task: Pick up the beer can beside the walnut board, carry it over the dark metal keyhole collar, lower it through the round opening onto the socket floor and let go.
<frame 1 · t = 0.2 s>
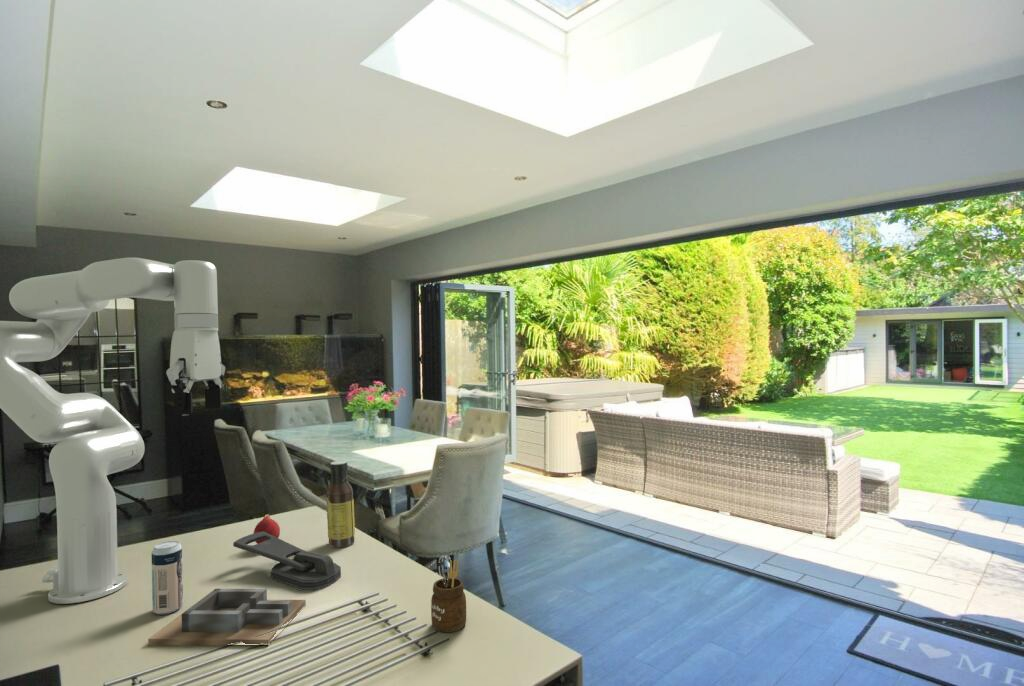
hand: (199, 410, 110), 36 cm above the table, tool pointing down, fingers open, 9 cm apart
zipper pull: (287, 575, 118), on the table
utensil holder: (449, 626, 95), on the table
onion: (267, 549, 134), on the table
sauce bottle: (341, 544, 136), on the table
beer can: (168, 611, 103), on the table
keyhole board: (232, 623, 97), on the table
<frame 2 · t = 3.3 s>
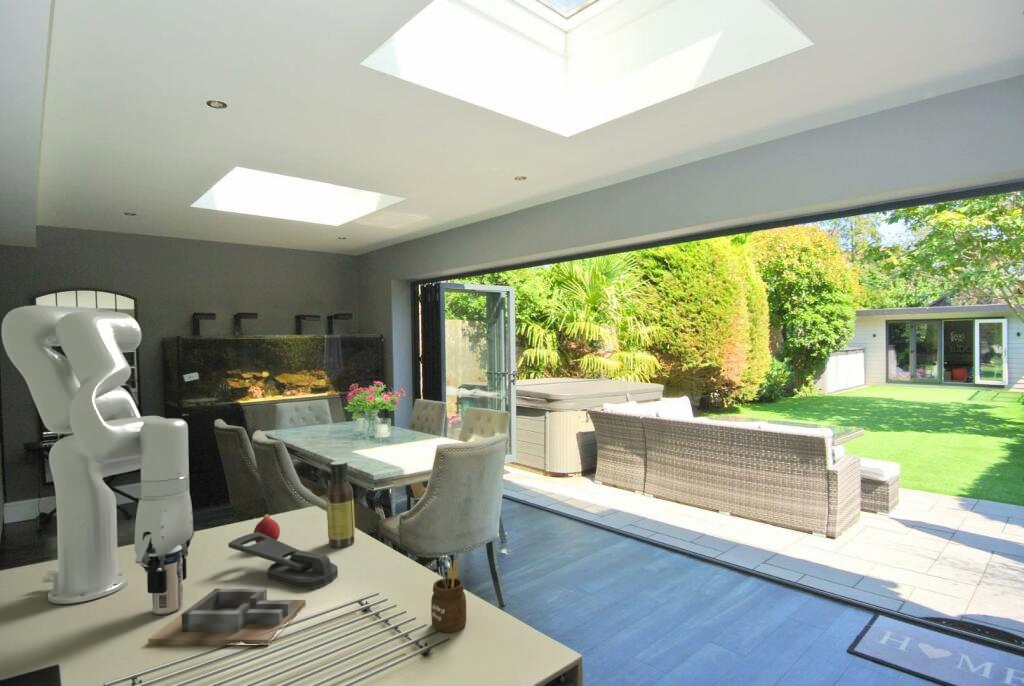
hand: (167, 584, 103), 5 cm above the table, tool pointing down, fingers closed on beer can, 4 cm apart
beer can: (168, 611, 103), on the table, touching gripper
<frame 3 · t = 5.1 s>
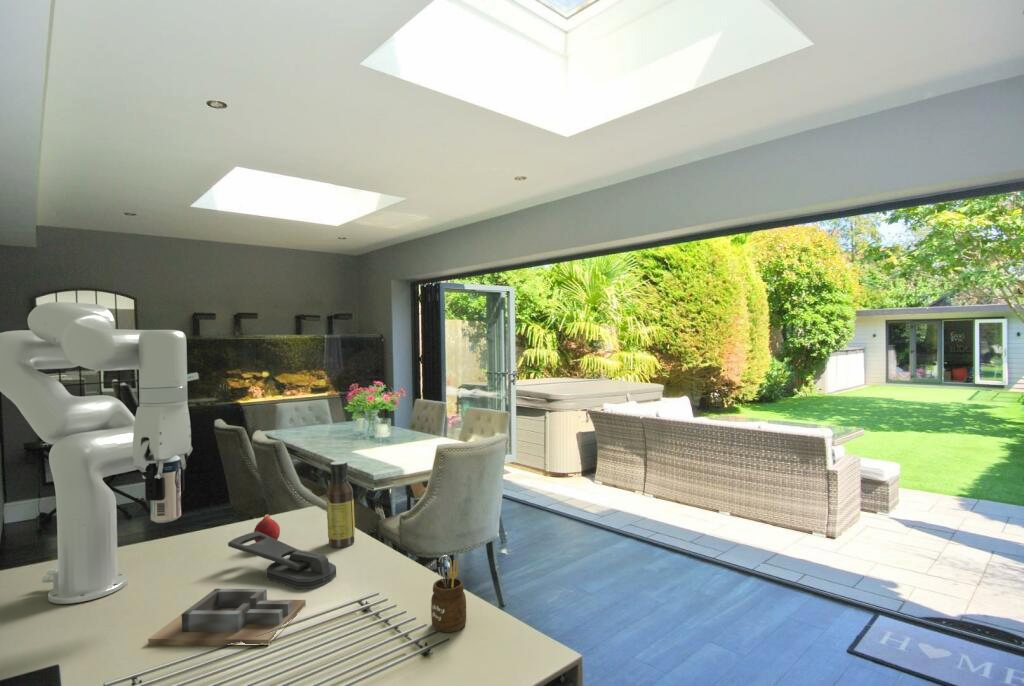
hand: (165, 494, 103), 21 cm above the table, tool pointing down, fingers closed on beer can, 4 cm apart
beer can: (166, 520, 103), point 16 cm above the table, touching gripper
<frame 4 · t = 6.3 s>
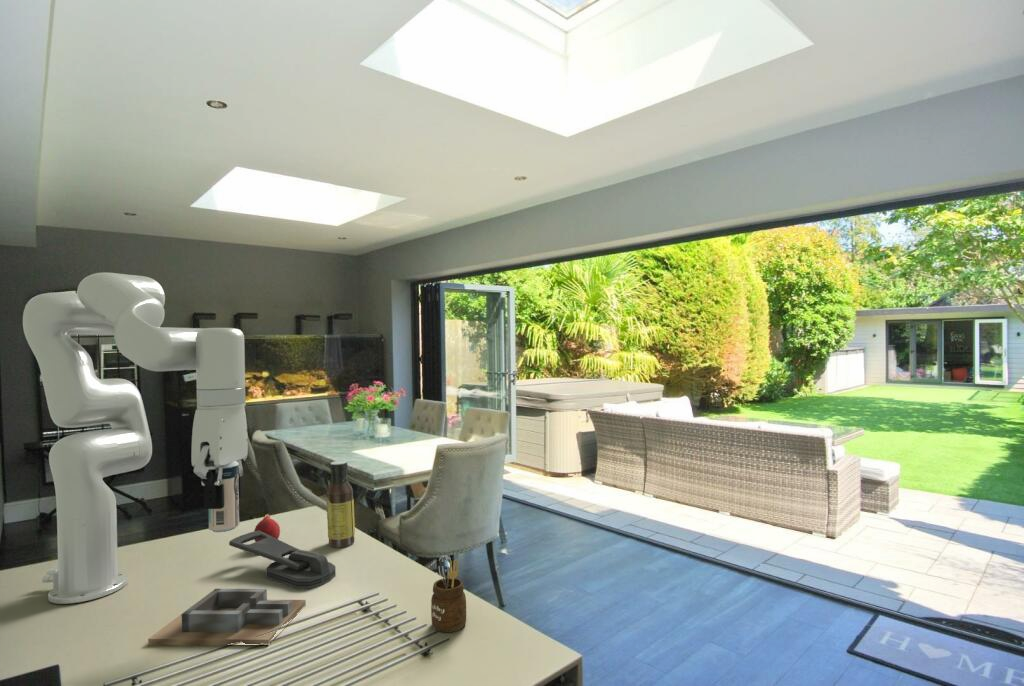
hand: (223, 502, 97), 21 cm above the table, tool pointing down, fingers closed on beer can, 4 cm apart
beer can: (224, 530, 97), point 16 cm above the table, touching gripper
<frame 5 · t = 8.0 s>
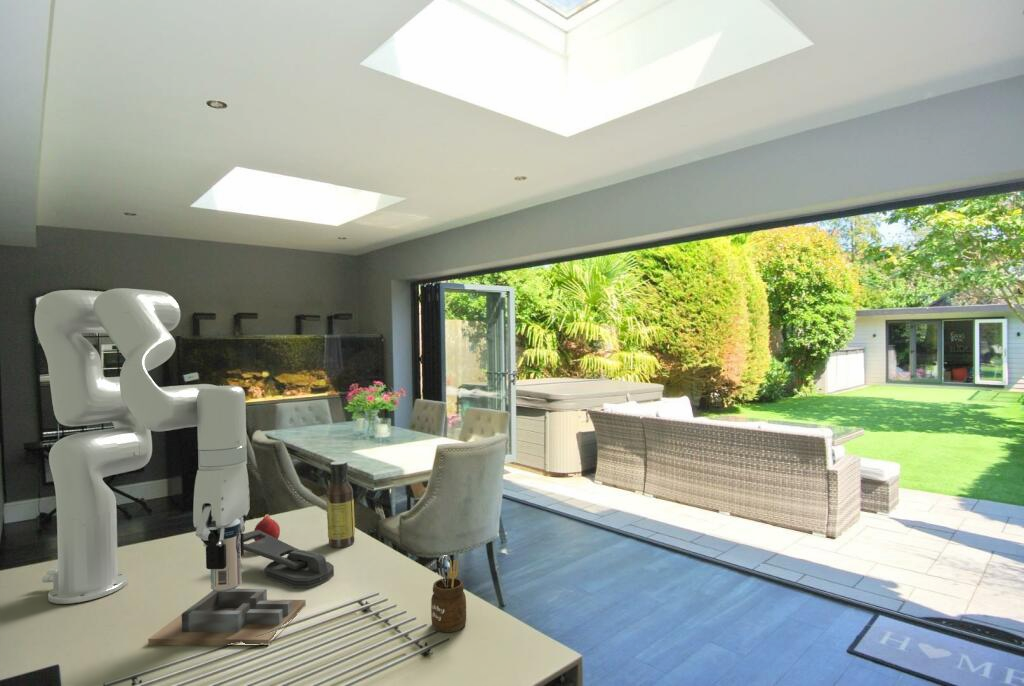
hand: (225, 561, 97), 11 cm above the table, tool pointing down, fingers closed on beer can, 4 cm apart
beer can: (226, 588, 97), point 6 cm above the table, touching gripper
when the fingers open (6 cm above the table, at t = 9.3 s): beer can stays where it is, resting on keyhole board.
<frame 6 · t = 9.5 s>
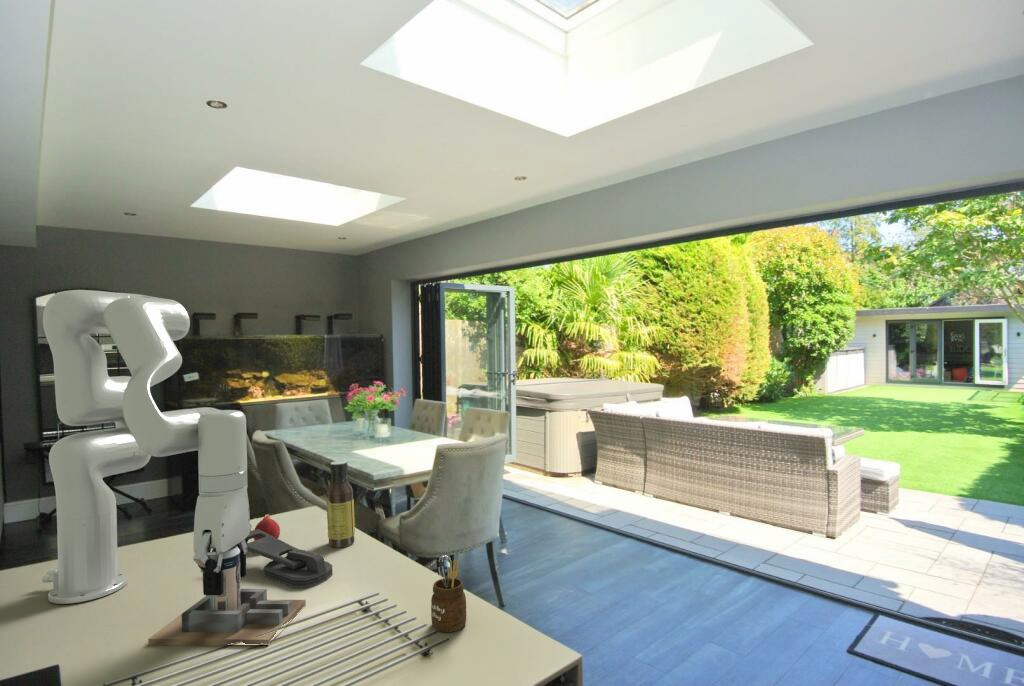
hand: (225, 584, 97), 7 cm above the table, tool pointing down, fingers open, 6 cm apart
beer can: (225, 618, 97), point 1 cm above the table, touching keyhole board
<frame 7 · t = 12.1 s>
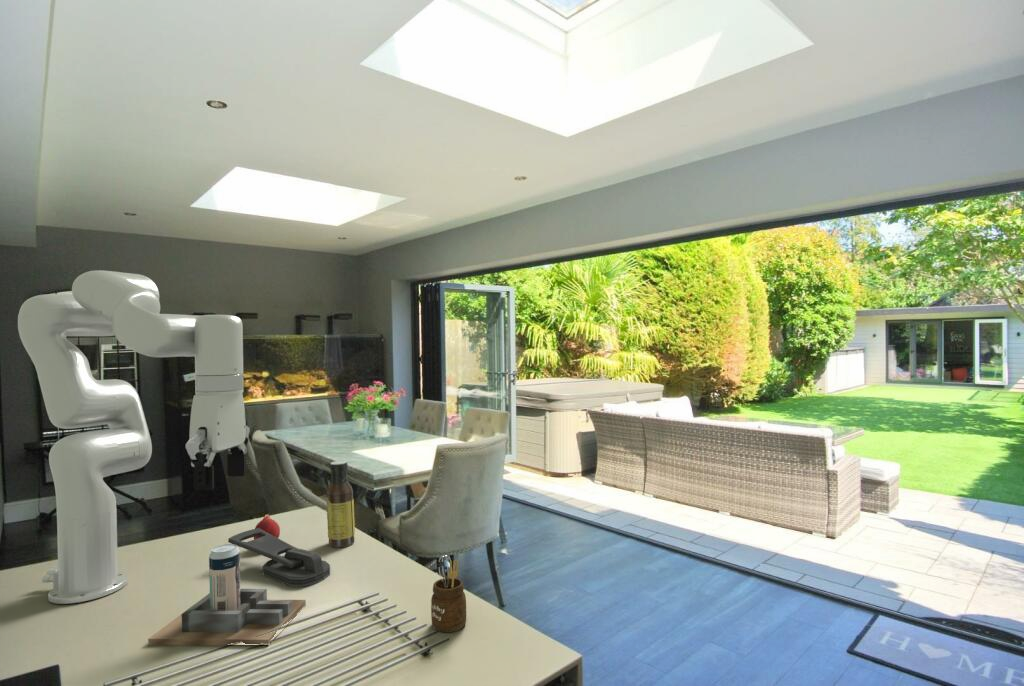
hand: (221, 482, 98), 24 cm above the table, tool pointing down, fingers open, 9 cm apart
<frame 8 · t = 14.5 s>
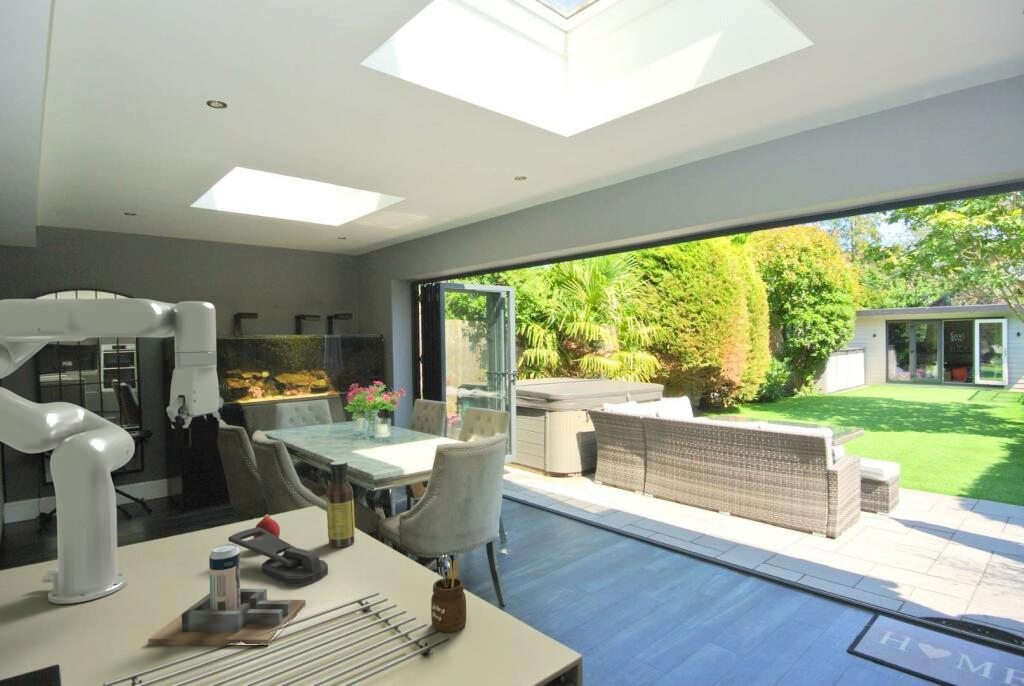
hand: (197, 443, 116), 28 cm above the table, tool pointing down, fingers open, 9 cm apart
at the end: beer can 0.2 cm from the target spot on the keyhole board, point 0.9 cm above the keyhole board's base; beer can tilted 0°; the gripper is holding nothing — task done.
